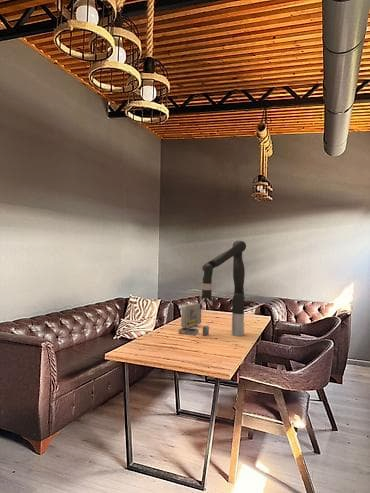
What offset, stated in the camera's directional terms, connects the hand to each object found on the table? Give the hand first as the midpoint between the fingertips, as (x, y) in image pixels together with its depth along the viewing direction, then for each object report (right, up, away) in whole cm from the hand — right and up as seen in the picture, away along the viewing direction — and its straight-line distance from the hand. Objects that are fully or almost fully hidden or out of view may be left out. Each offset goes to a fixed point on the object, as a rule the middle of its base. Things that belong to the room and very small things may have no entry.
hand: (206, 309), depth 308 cm
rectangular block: (-1, -20, 0) cm, 20 cm away
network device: (-11, -20, +26) cm, 35 cm away
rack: (-14, -20, +4) cm, 24 cm away
